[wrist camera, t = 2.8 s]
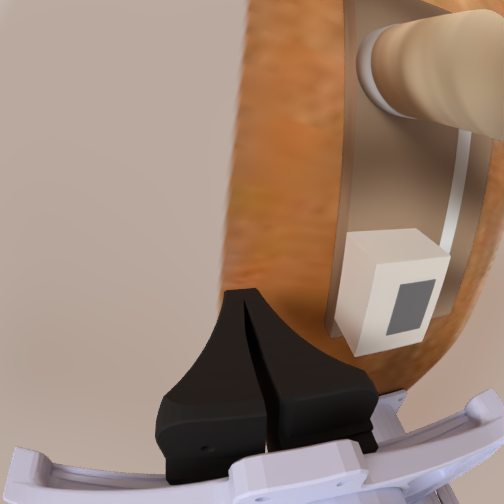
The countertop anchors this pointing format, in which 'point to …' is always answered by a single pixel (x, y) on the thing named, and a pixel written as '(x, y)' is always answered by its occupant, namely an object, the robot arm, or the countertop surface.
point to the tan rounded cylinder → (439, 70)
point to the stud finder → (388, 288)
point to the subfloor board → (404, 165)
